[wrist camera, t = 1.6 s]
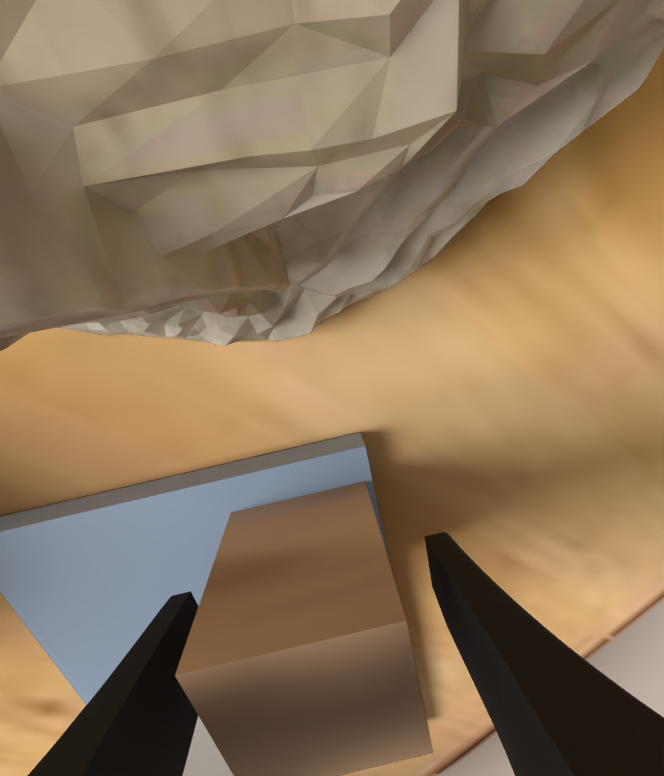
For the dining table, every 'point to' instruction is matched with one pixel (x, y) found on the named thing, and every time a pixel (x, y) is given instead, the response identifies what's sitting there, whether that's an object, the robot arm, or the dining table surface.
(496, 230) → the dining table surface
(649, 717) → the robot arm
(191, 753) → the cream base block
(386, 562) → the walnut block
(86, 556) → the board
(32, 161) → the jagged grey rock
